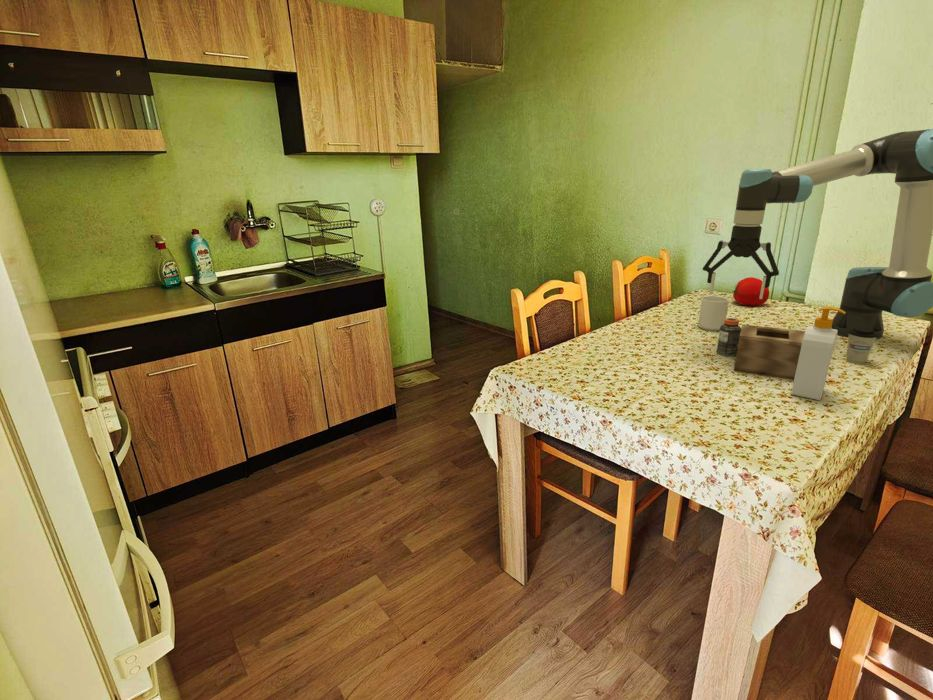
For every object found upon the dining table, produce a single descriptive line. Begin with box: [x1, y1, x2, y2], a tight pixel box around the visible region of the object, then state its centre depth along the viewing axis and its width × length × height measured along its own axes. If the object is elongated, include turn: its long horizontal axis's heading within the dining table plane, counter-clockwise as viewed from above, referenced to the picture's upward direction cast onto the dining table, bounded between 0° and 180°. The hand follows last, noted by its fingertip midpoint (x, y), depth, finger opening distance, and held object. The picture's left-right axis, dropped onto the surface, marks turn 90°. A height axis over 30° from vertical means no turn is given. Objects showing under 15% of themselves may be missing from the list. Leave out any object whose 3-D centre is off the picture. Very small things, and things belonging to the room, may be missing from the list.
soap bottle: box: [791, 306, 846, 401], centre depth 123 cm, size 9×7×23 cm
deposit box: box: [733, 324, 806, 380], centre depth 141 cm, size 16×12×11 cm
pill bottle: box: [716, 317, 742, 357], centre depth 153 cm, size 6×6×11 cm
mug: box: [697, 295, 730, 332], centre depth 179 cm, size 12×9×11 cm
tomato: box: [732, 276, 770, 307], centre depth 207 cm, size 13×13×13 cm
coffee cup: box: [845, 327, 878, 364], centre depth 144 cm, size 7×7×10 cm
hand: (735, 295), depth 149 cm, fingers open, 13 cm apart
